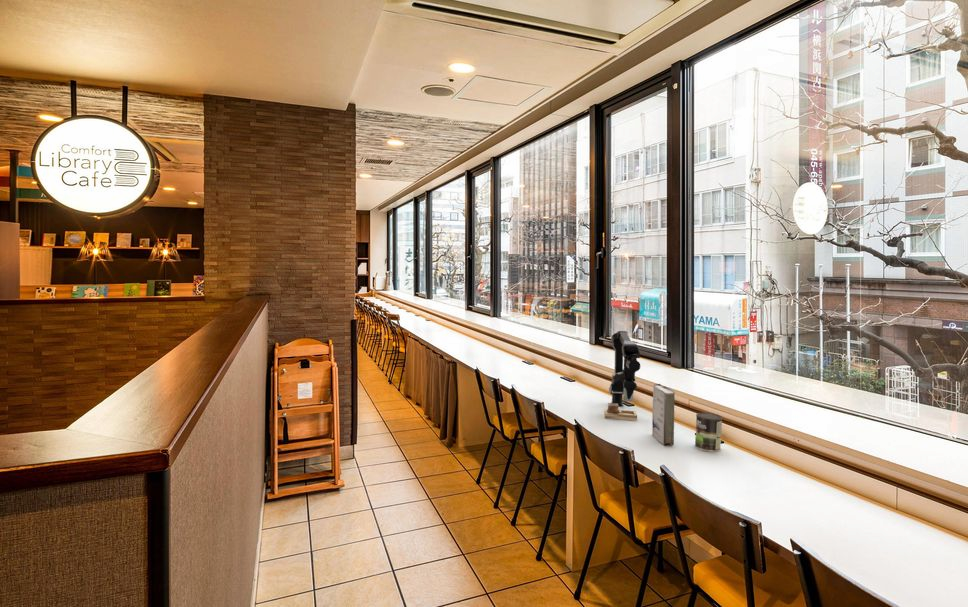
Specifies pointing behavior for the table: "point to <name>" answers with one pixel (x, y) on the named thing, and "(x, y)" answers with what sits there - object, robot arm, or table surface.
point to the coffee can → (708, 432)
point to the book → (663, 414)
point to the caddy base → (621, 415)
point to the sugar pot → (626, 396)
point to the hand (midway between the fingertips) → (628, 397)
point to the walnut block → (613, 408)
